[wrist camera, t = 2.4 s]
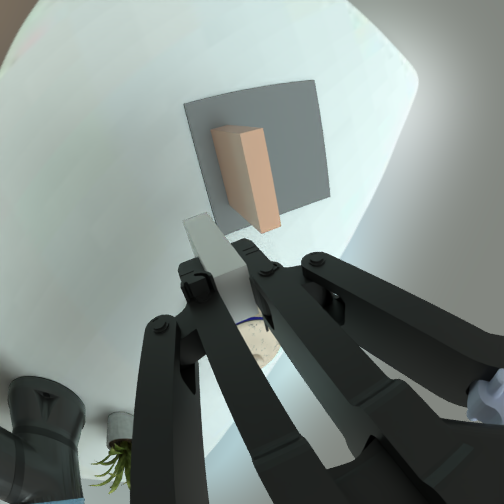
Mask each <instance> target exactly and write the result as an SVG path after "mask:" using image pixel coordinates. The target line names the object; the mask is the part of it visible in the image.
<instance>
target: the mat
mask: <svg viewBox="0 0 504 504" xmlns="http://www.w3.org/2000/svg"><path fill="white" fill-rule="evenodd" d="M184 107H185V111H186V115H187V119H188V123H189V126H190V130H191V134H192V138H193V142H194V145H195V149H196V153H197V157H198V160H199V164H200V168H201V171H202V175H203V179H204V182H205V186H206V189H207V193H208V197H209V200H210V204H211V207H212V211H213V214H214V218H215V221H216V225H217V227H218V228H219V229H220V230H221V232H222V233H223V234H224V235H227V234H230V233H232V232H235V231H238V230H240V229H243V228H246V227H248V226H251V224H250V223H249V222H248V221H247V220H246V219H244V218H243V217H242V216H241V215H240V214H239V213H238V212H237V211H236V210H234V209H233V208H232V207H231V206H230V205H229V202H228V198H227V194H226V190H225V186H224V182H223V178H222V174H221V170H220V166H219V162H218V158H217V154H216V150H215V146H214V142H213V138H212V134H211V129H214V128H218V127H222V126H226V125H236V126H248V127H258V128H263V131H264V136H265V141H266V146H267V151H268V156H269V161H270V167H271V172H272V177H273V183H274V188H275V194H276V199H277V205H278V210H279V215H281V214H283V213H286V212H289V211H292V210H294V209H297V208H300V207H303V206H305V205H308V204H311V203H314V202H317V201H319V200H322V199H325V198H328V197H330V188H329V178H328V169H327V160H326V152H325V144H324V137H323V130H322V123H321V116H320V110H319V104H318V98H317V92H316V86H315V81H314V80H309V81H300V82H291V83H283V84H276V85H270V86H263V87H258V88H252V89H246V90H241V91H236V92H231V93H227V94H222V95H218V96H214V97H209V98H205V99H201V100H197V101H194V102H190V103H186V104H184Z"/></svg>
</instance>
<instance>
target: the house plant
mask: <svg viewBox="0 0 504 504" xmlns="http://www.w3.org/2000/svg"><path fill="white" fill-rule="evenodd" d="M133 419H134V417H133V416H132V415H131V414H128V413H125V412H116V413H113V414H111V415H109V417H108V429H107V448H108V449H109V450H110V451H109V455H108V456H107V457H106V458H105V459H103V460H102V461H100V462H98V463H94V464H93V465H97V464H102V465H111V464H113V465H112V466H111V468H110V469H109V470H108V471H107V472H106V473H104V474H102V475H96V476H97V477H101V476H105V475H106V474H108V473H109V472H110V470H111V469H112V467H113V466H114V464H115V462H116V461H117V459H118V458H119V459H118V463H117V465H116V467H115V471H114V473H113V474H111V473H109V474H110V475H111V477H110V478H109V479H108V480H106V481H105V482H103V483H101V484H98V485H90V486H102V485H105V484H106V483H108V482H110V481H111V480H112V479H113V477H115V476H116V478H115V481H114V483H113V485H112V486H111V487H110V488H112V489H111V491H110V492H109V494H110V493H112V492H114V491H115V490H116V489H117V487H118V485H119V483H120V481H121V479H122V475H123V471H124V466H125V472H124V473H125V476H126V481H127V482H125V483H127V485H128V488H129V489H130V470H131V447H132V432H133ZM116 454H117V455H116ZM111 455H116V457H115V458H114V459H113V460H111V461H109V462H105V463H103V462H104V461H105V460H107V459H108V458H109V457H110V456H111ZM96 462H97V461H96ZM116 472H117V473H116ZM115 474H116V475H115ZM125 483H124V484H125Z"/></svg>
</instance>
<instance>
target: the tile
mask: <svg viewBox="0 0 504 504" xmlns="http://www.w3.org/2000/svg"><path fill="white" fill-rule="evenodd" d="M211 134H212V138H213V142H214V146H215V150H216V154H217V158H218V162H219V166H220V170H221V174H222V178H223V182H224V186H225V190H226V194H227V198H228V202H229V205H230V206H231V207H232V208H233V209H234V210H236V211H237V212H238V213H239V214H240V215H241V216H242V217H243V218H244V219H246V220H247V221H248V222H249V223H250V224H251V225H252V226H253V227H254V228H256V229H257V230H258V231H259V232H260V233H261V234H262V233H265V232H268V231H270V230H273V229H275V228H278V227H281V222H280V216H279V210H278V205H277V199H276V194H275V188H274V183H273V177H272V172H271V167H270V161H269V156H268V151H267V146H266V141H265V136H264V131H263V128H258V127H248V126H236V125H226V126H222V127H218V128H214V129H211Z"/></svg>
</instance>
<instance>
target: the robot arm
mask: <svg viewBox="0 0 504 504" xmlns="http://www.w3.org/2000/svg"><path fill="white" fill-rule="evenodd" d="M183 223H184V226H185V229H186V232H187V235H188V238H189V241H190V244H191V246H192V249H193V252H194V255H195V258H193V259H191V260H188V261H186V262H183V263H181V264H180V265H179V268H178V273H179V276H180V279H181V289H182V292H183V294H184V296H185V298H186V301H187V305H186V307H185V309H184V310H183V311H182V312H181V313H180V314H178V315H177V316H175V317H173V316H171V315H160V316H157V317H155V318H154V319H152V320H151V321H150V322H149V323H148V324H147V326H146V329H145V333H144V340H143V346H142V352H141V359H140V366H139V374H138V382H137V390H136V399H135V409H134V419H133V432H132V447H131V470H130V504H209V498H208V491H207V480H206V472H205V460H204V449H203V436H202V422H201V406H200V386H199V363H198V360H199V359H201V358H202V357H203V356H205V355H207V357H208V360H209V362H210V365H211V367H212V370H213V372H214V375H215V377H216V380H217V382H218V384H219V387H220V389H221V392H222V394H223V396H224V399H225V401H226V403H227V405H228V408H229V410H230V412H231V415H232V417H233V419H234V421H235V423H236V426H237V427H238V430H239V432H240V434H241V436H242V438H243V441H244V443H245V445H246V446H247V449H248V451H249V453H250V455H251V458H252V462H253V464H254V467H255V469H256V471H257V473H258V475H259V477H260V479H261V481H262V483H263V485H264V486H265V488H266V490H267V492H268V494H269V496H270V498H271V499H272V501H273V503H274V504H504V336H500V335H495V334H490V333H487V332H485V331H483V330H481V329H480V328H478V327H476V326H474V325H472V324H470V323H468V322H466V321H464V320H462V319H460V318H458V317H457V316H455V315H453V314H451V313H449V312H447V311H445V310H443V309H441V308H439V307H437V306H435V305H433V304H431V303H429V302H427V301H425V300H423V299H421V298H419V297H417V296H415V295H413V294H411V293H409V292H407V291H405V290H403V289H401V288H399V287H397V286H395V285H392V284H391V283H388V282H386V281H384V280H382V279H380V278H378V277H376V276H374V275H372V274H370V273H367V272H366V271H363V270H361V269H359V268H357V267H355V266H353V265H351V264H349V263H346V262H344V261H342V260H340V259H338V258H336V257H334V256H331V255H329V254H327V253H324V252H313V253H309V254H307V255H305V256H304V257H303V258H302V261H301V265H299V266H294V267H283V266H282V265H281V264H279V263H278V262H273V261H270V260H269V259H268V258H267V257H266V256H265V255H264V254H263V253H262V251H261V250H259V248H258V247H257V246H256V245H255V244H254V243H253V242H252V241H251V240H248V239H245V238H244V239H241V240H238V241H236V242H233V243H230V242H229V241H228V240H227V238H226V237H225V236H224V234H223V233H222V232H221V230H220V229H219V228H218V227H217V225H216V224H215V223H214V221H213V220H212V219H211V217H210V216H209V215H208V213H207V212H205V213H203V214H200V215H197V216H195V217H192V218H189V219H186V220H184V221H183ZM335 294H336V295H335ZM337 295H338V296H337ZM257 306H258V307H259V309H260V310H261V312H262V316H263V320H264V324H265V328H266V331H267V332H268V331H269V329H270V331H271V332H272V334H273V335H274V337H275V338H276V340H277V341H278V343H279V344H280V346H281V347H282V348H283V350H284V351H285V353H286V354H287V356H288V357H289V359H290V360H291V362H292V363H293V365H294V366H295V368H296V369H297V370H298V372H299V373H300V375H301V376H302V378H303V379H304V381H305V382H306V383H307V385H308V386H309V388H310V389H311V391H312V392H313V394H314V395H315V396H316V398H317V399H318V401H319V402H320V403H321V405H322V406H323V408H324V409H325V411H326V412H327V413H328V415H329V416H330V417H331V419H332V420H333V422H334V423H335V425H336V426H337V427H338V429H339V430H340V431H341V433H342V434H343V436H344V438H345V440H346V443H347V445H348V448H349V449H350V451H351V453H352V454H353V456H354V457H355V460H353V461H352V462H349V463H346V464H343V465H340V466H337V467H333V468H330V469H326V468H325V467H324V465H323V464H322V462H321V461H320V459H319V458H318V456H317V455H316V453H315V452H314V450H313V449H312V447H311V446H310V444H309V443H308V441H307V440H306V439H305V438H304V437H303V436H301V434H299V432H298V430H297V429H296V427H295V425H294V424H293V422H292V421H291V419H290V417H289V416H288V414H287V412H286V411H285V409H284V407H283V406H282V404H281V402H280V401H279V399H278V397H277V396H276V394H275V393H274V391H273V389H272V387H271V386H270V384H269V382H268V380H267V379H266V377H265V375H264V374H263V372H262V370H261V368H260V367H259V365H258V363H257V361H256V360H255V358H254V356H253V354H252V353H251V351H250V349H249V347H248V345H247V344H246V342H245V340H244V338H243V336H242V335H241V333H240V331H239V329H238V327H237V326H236V323H238V322H241V321H243V320H245V319H248V318H250V317H252V316H255V315H257V314H259V311H258V307H257ZM268 328H269V329H268ZM359 346H360V347H361V348H363V349H365V350H366V351H368V352H369V353H371V354H372V355H374V356H375V357H377V358H379V359H380V360H382V361H383V362H385V363H386V364H388V365H390V366H391V367H393V368H394V369H396V370H398V371H399V372H401V373H402V374H404V375H405V376H407V377H408V378H410V379H412V380H413V381H415V382H416V383H418V384H420V385H421V386H423V387H424V388H426V389H428V390H429V391H431V392H433V393H434V394H436V395H437V396H439V397H441V398H443V399H445V400H446V401H448V402H451V403H454V404H456V405H459V406H463V407H467V408H468V410H467V417H468V419H469V420H471V421H476V420H479V421H481V422H482V423H474V422H465V421H458V420H450V419H444V418H440V417H439V416H438V415H437V414H436V413H435V412H434V411H433V410H432V409H431V408H430V407H429V406H428V405H427V404H426V402H424V400H423V399H422V398H421V397H420V396H419V395H418V394H417V393H416V392H415V391H414V390H413V389H412V388H411V387H410V386H409V385H408V384H407V383H406V382H405V381H403V380H400V379H394V380H392V379H390V378H389V377H387V376H386V375H385V374H384V373H383V371H381V369H380V368H379V367H378V366H377V365H376V364H375V363H374V362H373V361H372V360H371V359H370V358H369V356H368V355H367V354H366V353H365V352H364V351H363V350H362V349H361V348H360V347H359ZM8 405H9V408H10V415H11V421H12V427H13V431H12V433H11V432H9V431H7V430H6V429H4V428H2V427H1V426H0V499H1V500H3V501H5V502H8V503H10V504H84V501H85V499H84V498H83V492H82V485H81V478H80V470H79V461H78V449H77V446H78V442H79V439H80V435H81V430H82V429H83V427H84V425H85V407H84V404H83V403H82V401H81V400H80V399H79V397H78V396H77V395H75V394H74V393H73V392H72V391H70V390H69V389H67V388H66V387H64V386H62V385H60V384H58V383H56V382H53V381H50V380H47V379H44V378H39V377H21V378H17V379H15V380H14V381H13V382H12V383H11V384H10V387H9V391H8Z"/></svg>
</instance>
